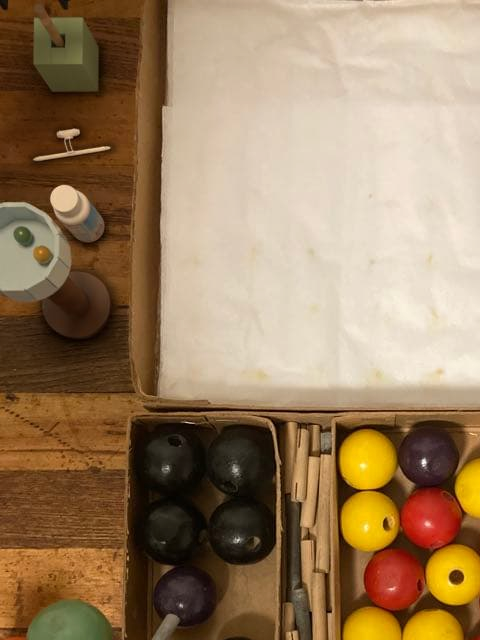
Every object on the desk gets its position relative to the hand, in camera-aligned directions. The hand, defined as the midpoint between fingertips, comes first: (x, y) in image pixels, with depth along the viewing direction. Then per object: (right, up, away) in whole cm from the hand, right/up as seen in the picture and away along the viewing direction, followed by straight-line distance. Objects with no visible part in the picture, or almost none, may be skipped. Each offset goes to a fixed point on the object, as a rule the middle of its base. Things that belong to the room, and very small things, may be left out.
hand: (36, 1), depth 136 cm
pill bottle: (+3, -31, +16) cm, 35 cm away
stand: (0, -1, +17) cm, 17 cm away
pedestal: (+1, -45, +15) cm, 47 cm away
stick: (0, -1, +17) cm, 17 cm away
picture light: (-1, -16, +17) cm, 23 cm away
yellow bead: (+5, -44, -8) cm, 45 cm away
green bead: (+2, -41, -8) cm, 42 cm away
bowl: (+2, -44, -6) cm, 44 cm away
